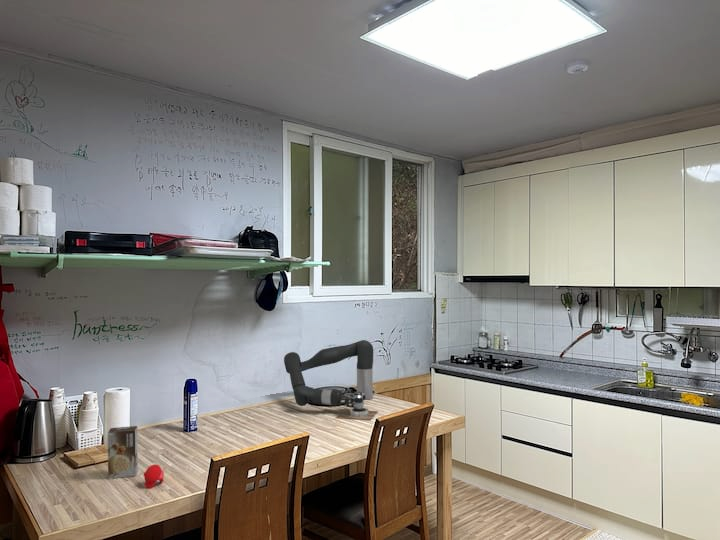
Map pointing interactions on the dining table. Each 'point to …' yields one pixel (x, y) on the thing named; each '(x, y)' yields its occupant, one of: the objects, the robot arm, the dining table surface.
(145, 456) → the dining table surface
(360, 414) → the ring
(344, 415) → the board
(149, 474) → the cap
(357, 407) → the cylinder
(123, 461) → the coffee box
